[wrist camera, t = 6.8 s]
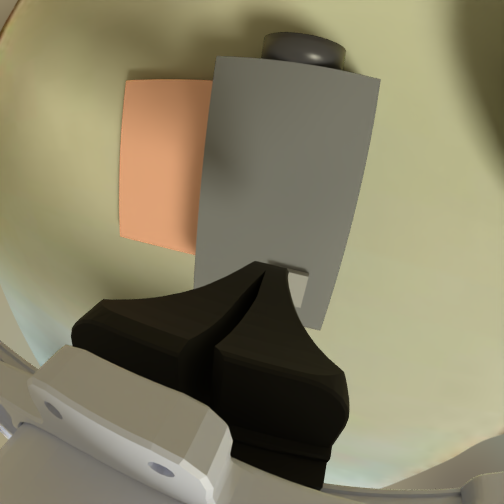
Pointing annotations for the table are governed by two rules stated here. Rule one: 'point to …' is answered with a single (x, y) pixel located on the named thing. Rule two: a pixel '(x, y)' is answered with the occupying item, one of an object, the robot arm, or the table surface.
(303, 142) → the camera housing
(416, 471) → the table surface
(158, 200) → the side door
